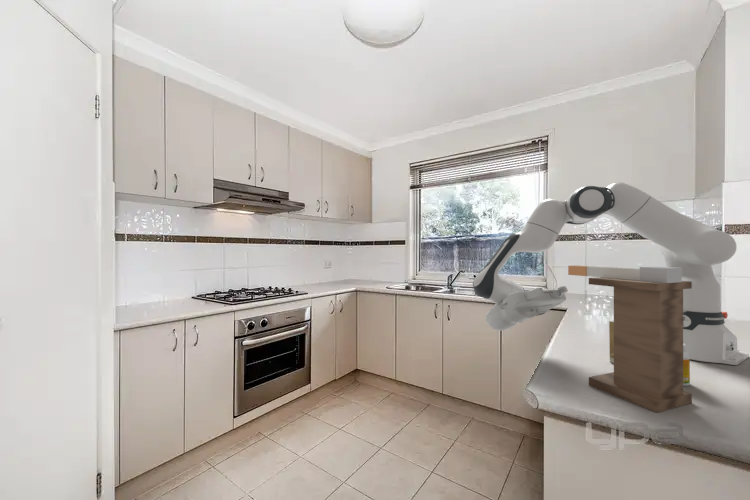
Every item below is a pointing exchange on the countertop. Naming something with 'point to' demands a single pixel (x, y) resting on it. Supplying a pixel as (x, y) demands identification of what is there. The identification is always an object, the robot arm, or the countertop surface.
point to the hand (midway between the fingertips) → (553, 289)
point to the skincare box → (611, 340)
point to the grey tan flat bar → (630, 273)
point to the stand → (646, 344)
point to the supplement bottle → (686, 367)
